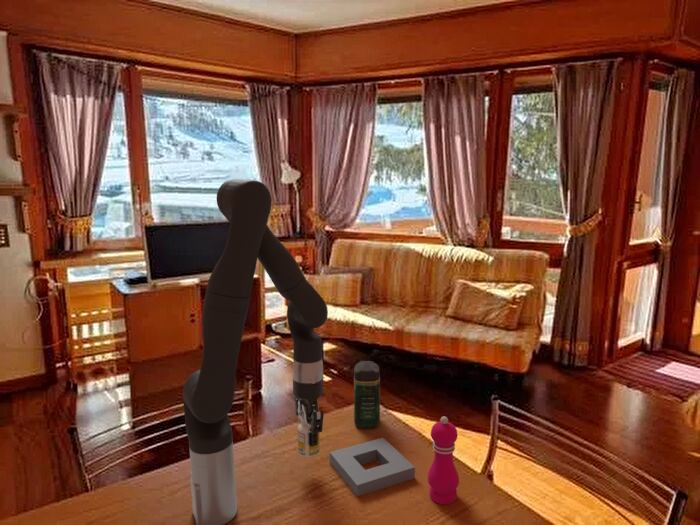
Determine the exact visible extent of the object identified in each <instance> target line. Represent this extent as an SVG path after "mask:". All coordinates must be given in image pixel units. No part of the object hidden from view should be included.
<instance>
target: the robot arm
mask: <svg viewBox="0 0 700 525" xmlns="http://www.w3.org/2000/svg"><path fill="white" fill-rule="evenodd" d="M216 205H217V207H218V210H219V211H220V213H221V214H222V215H223V216H224V218H225V219H226V220H227V221H228V222H229V223H230V224H229V230H228V237H227V241H226V245H225V248H224V250H223V253H222V254H221V256H220V258H219V259H218V261H217V262H216V264H215V266H214V268H213V270H212V272H211V274H210V276H209V278H208V281H207V284H206V289H205V294H204V300H203V306H202V316H201V317H202V318H201V320H202V322H201V326H202V343H203V346H202V349H203V351H202V352H203V353H202V362H201V365H200V369H198V370H195V371H194V372H193V373H191V374H190V375H189V377H187V379H186V381H185V382H184V384H183V388H182V403H183V414H184V423H185V429H186V434H187V435H186V436H187V438H188V447H189V448H188V449H189V460H190V461H189V462H190V475H189V478H190V480H189V482H190V490H191V491H190V493H191V502H192V503H191V505H192V514H193V518H194V520H195V524H196V525H225V524H228V523H229V522H231V521H232V520H233V519H234V517H235V516H236V515H237V513H238V512H237V511H238V507H237V506H238V502H237V500H238V499H237V487H236V486H237V485H236V474H235V473H236V470H235V458H234V455H235V454H234V442H233V441H234V440H233V436H234V435H233V429H232V428H233V427H232V426H231V423H230V418H229V413H230V410H231V409H232V406H233V404H234V401H235V390H236V389H235V388H236V377H237V366H238V359H239V353H240V348H241V345H242V340H243V334H244V329H245V324H246V319H247V316H248V311H249V306H250V302H251V296H252V288H253V283H254V277H255V273H256V267H257V263H258V261H259V262H260V264H261V265H262V266H263V268H264V270H265V272H266V274H267V275H268V277H269V278H270V280H271V282H272V283H273V285H274V287H275V289H276V290H277V292H278V293H279V295H280V296H281V297H282V298H284V300H285V299H286V300H287V301H288V304H287V309H286V318H287V323H288V327H289V332H290V336H291V338H292V343H293V344H292V348H293V350H292V351H293V353H292V354H293V359H292V360H293V362H292V394H293V396H294V407H295V408H294V409H295V416H298V418H297V419H298V421H299V424H300V423H301V422H300V417H301V415H303V414H304V418H305V423H307V425H308V431H309V432H308V444H309V446H310V447H312V446H316V445H317V444H318V432H319V433H322V432H323V426H324V425H323V424H324V411H323V410H320V409H319V408H320V405H319V401H318V400H319V398H320V397H321V396H323V394H324V364H323V363H324V362H323V342H322V341H323V340H322V337H321V336H320V335H319V334H318V333H317V332H316V331H315V330H314V329H317V328H320V327H322V326H324V325H325V323H326V322H327V319H328V315H329V313H328V312H329V311H328V306H327V304H326V302H325V300H324V299H323V297H322V296H321V294H320V293H319V292H318V291H317V290H316V289H315V287H314V286H313V285H311V283H310V282H309V281H308V280H307V279H306V276H305V274H304V273H303V272H302V269H301V267H300V265H299V264H298V262H297V261H296V259H295V257H294V256H293V255H292V253H291V252H290V251H289V250H288V248H286V246H285V245H284V244H283V243H282V242H281V241H280V239H278V238H277V237H276V235H275V234H274V233H273V231H272V230H271V229H270V227H269V226H268V221H269V217H270V213H271V209H272V195H271V193H270V190H269V188H268V187H267V185H265V184H264V183H263V182H261V181H260V180H255V179H247V178H246V179H245V178H231V179H228V180H227V181H224V182H223V183H222V184H221V185H220V187H219V188H218V191H217V194H216ZM308 417H312V419H308ZM311 423H312V424H311Z"/></svg>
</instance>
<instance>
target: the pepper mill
mask: <svg viewBox="0 0 700 525" xmlns="http://www.w3.org/2000/svg"><path fill="white" fill-rule="evenodd" d="M430 437H431V439H432V441H433V442H432V450H434V458H433V461H432V464H430V468H429V471H428V474H427V482H428V485H429V497H430V499H431V500H432V501H433V502H435V503H437V504H440V505H451V504H452V503H453V504H454V502H455V501H456V500H457V495H458V491H457V488H458V487H459V485H460V484H459V483H460V477H459V472H458V471H457V468H456V465H455V463H454V458H453V457H454V455H453V454H454V452H455V450H456V448H455V447H456V444H455V443H456V441H457V439H458V430H457V427H456V426H455V425H454V424H453V423H452V422H449V419H448V417H447V416H441V418H440V420H439V421H437V422H436V423H434V424H433V425H432V426H431V430H430Z"/></svg>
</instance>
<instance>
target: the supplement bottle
mask: <svg viewBox="0 0 700 525" xmlns="http://www.w3.org/2000/svg"><path fill="white" fill-rule="evenodd" d="M308 419H312V417H308ZM300 422H301V423H300ZM311 424H312V423H311ZM308 432H309V431H308V425H307V423H305V418H304V414H303V415H301V417H300V421H299V424H298V426H297V453H298V455H299V456H300V457H302V458H313V457H316V456H318V455H319V453H320V432H318V444H317V445H316V446H312V447H310V446H309V444H308Z"/></svg>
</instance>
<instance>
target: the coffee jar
mask: <svg viewBox="0 0 700 525" xmlns="http://www.w3.org/2000/svg"><path fill="white" fill-rule="evenodd" d="M380 372H381V371H380V366H379V365H378V364H377V363H376V362H375V361H373V360H360V361H359V362H357V363H356V364H355V365H354V368H353V405H354V408H353V410H354V411H353V418H354V419H353V420H354V421H353V422H354V425H355V427H358V428H362V429H367V430H368V429H370V430H371V429H373V428H377V427H378V426H379V425H380V421H381V420H380V419H381V374H380Z"/></svg>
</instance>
